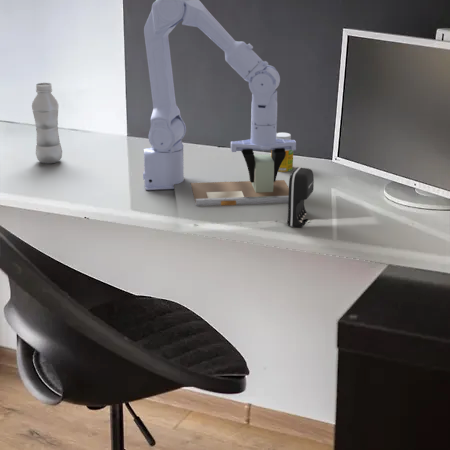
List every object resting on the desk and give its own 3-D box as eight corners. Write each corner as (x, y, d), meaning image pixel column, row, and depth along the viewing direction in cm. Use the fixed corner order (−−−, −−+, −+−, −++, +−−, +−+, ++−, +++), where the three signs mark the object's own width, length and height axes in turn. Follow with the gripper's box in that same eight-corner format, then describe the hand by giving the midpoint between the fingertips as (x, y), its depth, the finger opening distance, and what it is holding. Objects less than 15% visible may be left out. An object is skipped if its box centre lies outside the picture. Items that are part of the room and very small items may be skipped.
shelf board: (196, 211, 178) (196, 200, 177) (190, 187, 192) (190, 178, 191) (296, 207, 180) (297, 197, 179) (284, 184, 194) (284, 175, 193)
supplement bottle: (290, 177, 200) (292, 138, 196) (268, 175, 201) (269, 136, 197) (293, 170, 205) (295, 132, 201) (272, 168, 206) (273, 130, 202)
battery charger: (304, 229, 168) (307, 176, 164) (286, 227, 170) (288, 174, 165) (313, 218, 175) (315, 166, 170) (295, 215, 176) (298, 164, 171)
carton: (254, 192, 186) (255, 162, 183) (251, 183, 191) (251, 154, 189) (273, 191, 186) (274, 162, 183) (269, 183, 192) (270, 154, 189)
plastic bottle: (68, 161, 210) (63, 83, 203) (49, 168, 205) (43, 88, 198) (49, 157, 214) (44, 80, 206) (30, 163, 208) (24, 84, 201)
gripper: (233, 128, 178) (233, 187, 183) (299, 126, 180) (297, 185, 185) (229, 119, 185) (229, 177, 190) (293, 118, 187) (291, 175, 192)
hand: (262, 180), depth 188 cm, fingers closed on carton, 4 cm apart
